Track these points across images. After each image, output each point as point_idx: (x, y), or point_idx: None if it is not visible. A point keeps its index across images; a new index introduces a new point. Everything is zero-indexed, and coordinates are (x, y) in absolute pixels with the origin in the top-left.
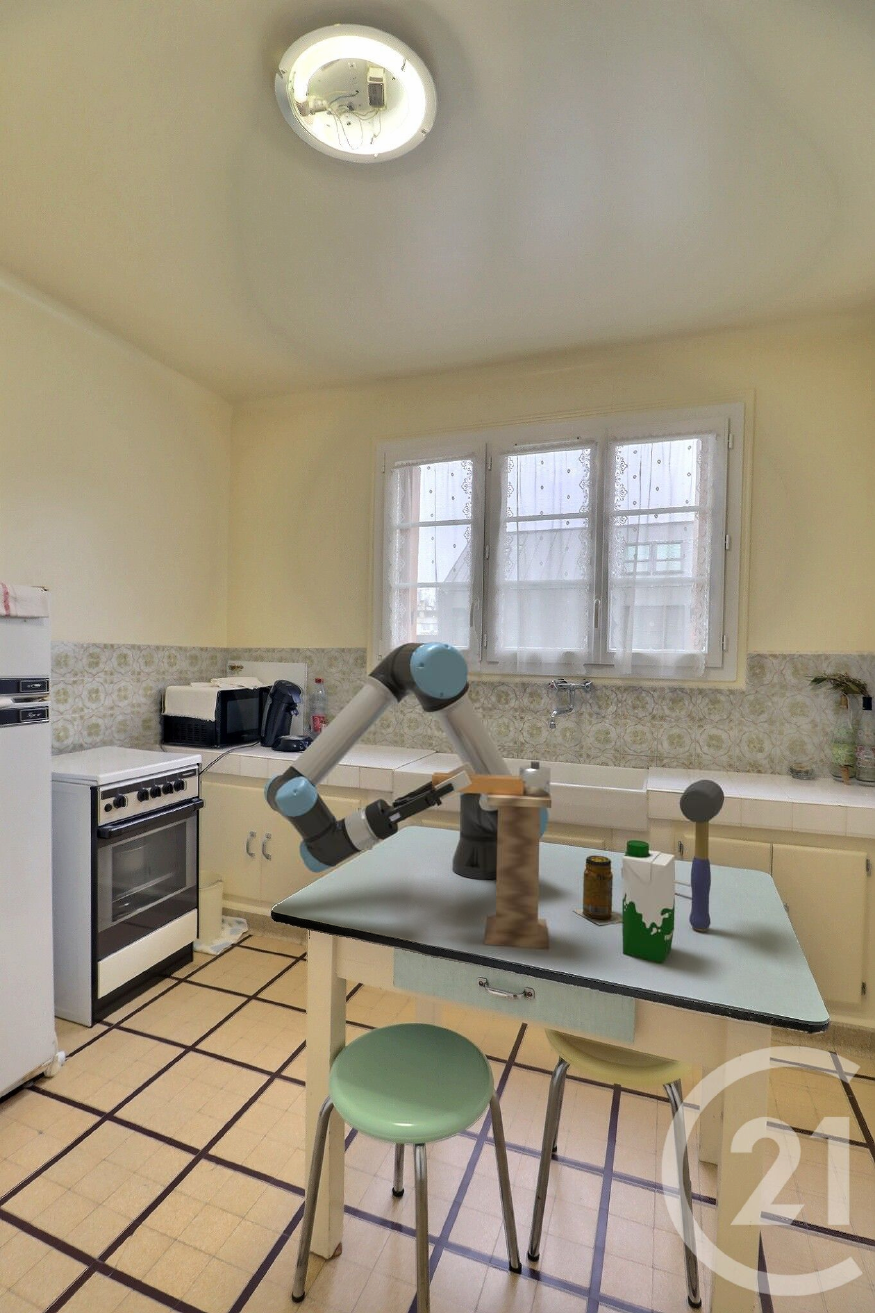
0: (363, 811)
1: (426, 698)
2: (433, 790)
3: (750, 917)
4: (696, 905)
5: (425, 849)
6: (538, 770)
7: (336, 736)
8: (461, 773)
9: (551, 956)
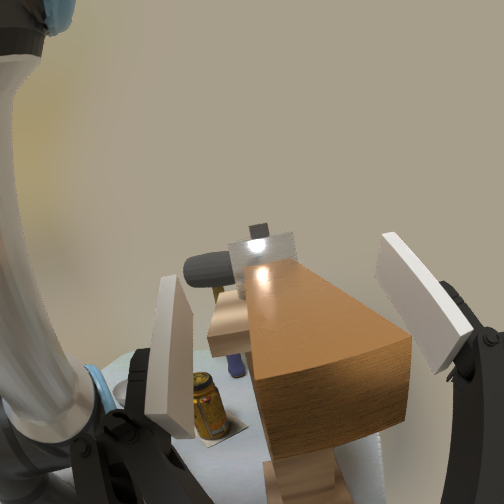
0: None
1: None
2: (490, 330)
3: (209, 357)
4: (238, 357)
5: None
6: (285, 232)
7: None
8: (401, 240)
9: (348, 446)
